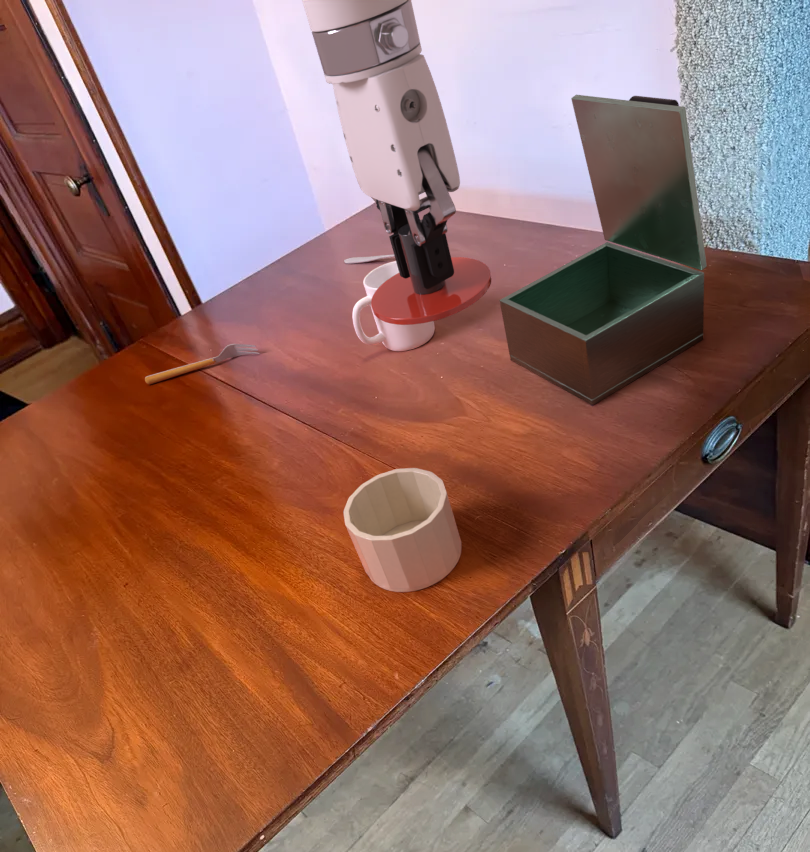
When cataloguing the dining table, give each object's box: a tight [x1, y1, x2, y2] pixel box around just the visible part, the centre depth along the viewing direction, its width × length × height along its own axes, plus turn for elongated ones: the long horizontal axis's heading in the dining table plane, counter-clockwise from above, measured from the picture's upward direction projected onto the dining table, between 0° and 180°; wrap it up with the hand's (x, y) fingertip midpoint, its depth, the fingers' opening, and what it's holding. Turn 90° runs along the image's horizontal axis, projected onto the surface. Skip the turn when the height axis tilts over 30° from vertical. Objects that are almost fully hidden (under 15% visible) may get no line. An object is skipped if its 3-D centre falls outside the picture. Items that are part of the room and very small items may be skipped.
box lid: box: [570, 94, 707, 271], centre depth 86 cm, size 18×17×5 cm
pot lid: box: [370, 219, 493, 325], centre depth 66 cm, size 11×11×7 cm
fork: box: [144, 343, 261, 385], centre depth 122 cm, size 2×2×20 cm
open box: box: [499, 241, 705, 406], centre depth 94 cm, size 18×17×9 cm
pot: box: [342, 467, 463, 593], centre depth 76 cm, size 10×10×8 cm
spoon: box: [343, 253, 395, 265], centre depth 134 cm, size 4×21×2 cm, turn 56°
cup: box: [351, 260, 436, 352], centre depth 109 cm, size 8×12×10 cm
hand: (426, 274), depth 67 cm, fingers closed on pot lid, 3 cm apart
